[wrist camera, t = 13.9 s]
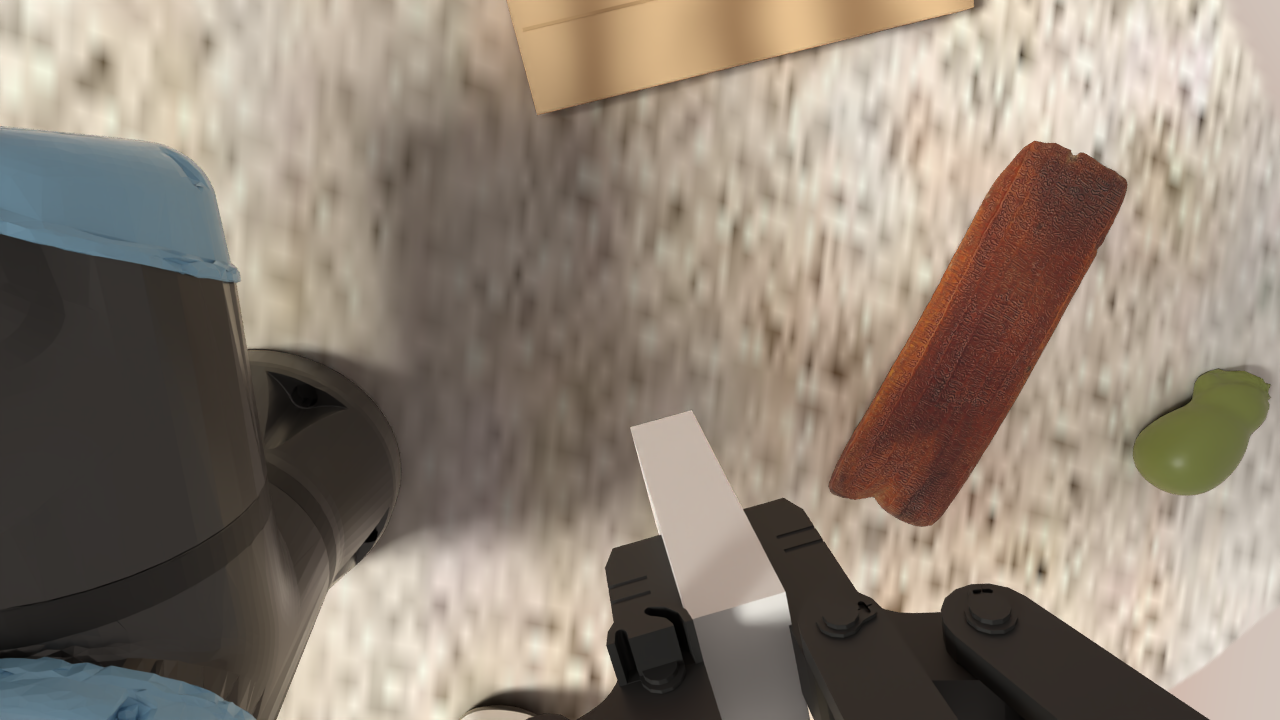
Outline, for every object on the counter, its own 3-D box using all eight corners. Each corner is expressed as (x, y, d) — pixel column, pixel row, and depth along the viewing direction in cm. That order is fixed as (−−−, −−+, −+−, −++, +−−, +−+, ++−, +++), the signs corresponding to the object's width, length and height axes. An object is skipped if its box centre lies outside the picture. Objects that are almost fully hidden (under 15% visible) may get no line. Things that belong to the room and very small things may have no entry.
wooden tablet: (927, 525, 53) (940, 538, 51) (814, 486, 50) (823, 498, 48) (1140, 186, 46) (1162, 190, 44) (1021, 120, 43) (1039, 121, 41)
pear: (1174, 473, 46) (1278, 362, 46) (1103, 445, 51) (1197, 345, 51) (1209, 523, 48) (1308, 416, 48) (1137, 492, 53) (1228, 395, 53)
